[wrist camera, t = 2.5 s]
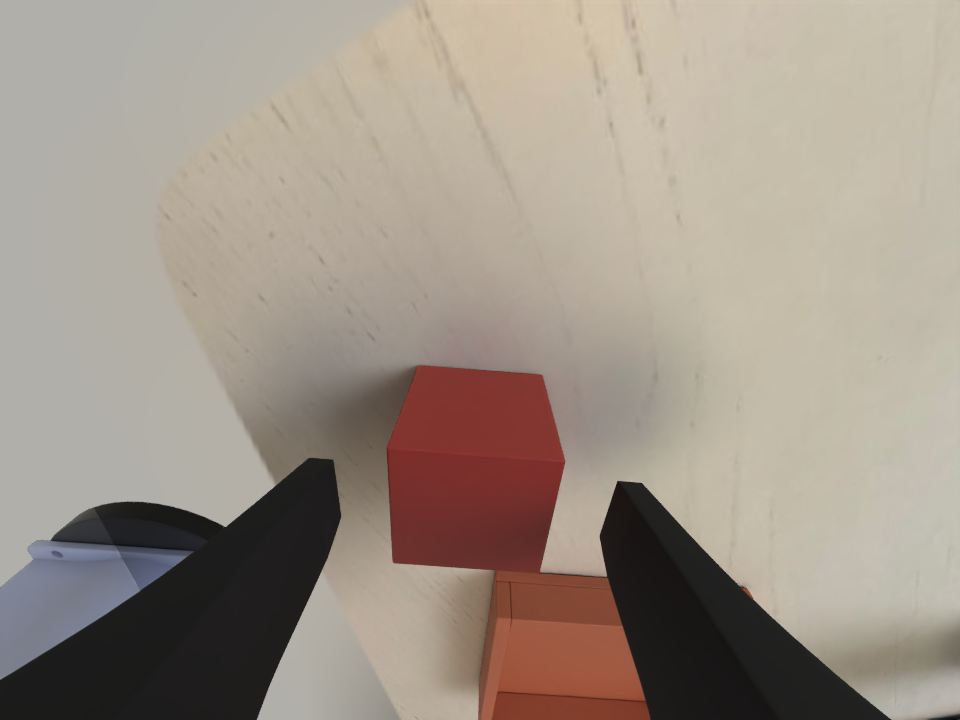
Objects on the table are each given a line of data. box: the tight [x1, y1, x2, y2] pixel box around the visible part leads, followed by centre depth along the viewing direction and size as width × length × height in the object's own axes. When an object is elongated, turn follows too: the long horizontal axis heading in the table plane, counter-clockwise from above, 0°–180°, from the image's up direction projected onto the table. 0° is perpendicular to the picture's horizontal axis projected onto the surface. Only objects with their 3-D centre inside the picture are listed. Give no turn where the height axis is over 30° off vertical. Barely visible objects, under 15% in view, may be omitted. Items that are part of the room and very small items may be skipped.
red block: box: [387, 366, 565, 573], centre depth 11 cm, size 4×4×4 cm
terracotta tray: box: [478, 570, 753, 720], centre depth 18 cm, size 11×10×2 cm
